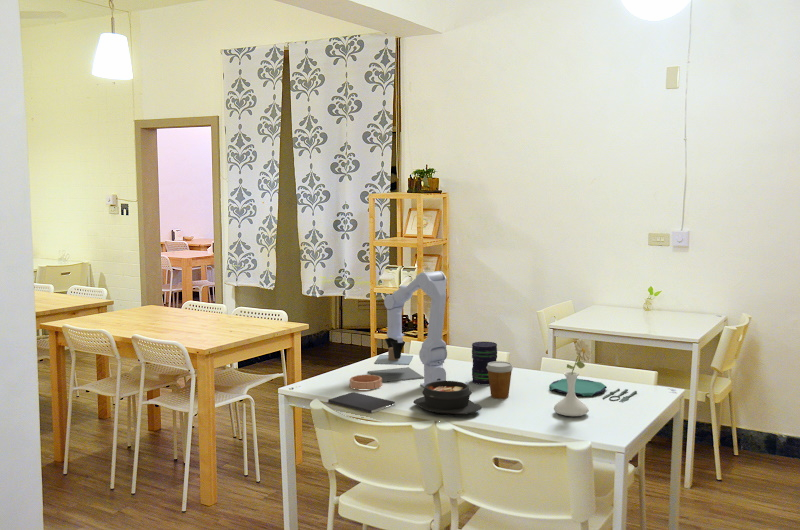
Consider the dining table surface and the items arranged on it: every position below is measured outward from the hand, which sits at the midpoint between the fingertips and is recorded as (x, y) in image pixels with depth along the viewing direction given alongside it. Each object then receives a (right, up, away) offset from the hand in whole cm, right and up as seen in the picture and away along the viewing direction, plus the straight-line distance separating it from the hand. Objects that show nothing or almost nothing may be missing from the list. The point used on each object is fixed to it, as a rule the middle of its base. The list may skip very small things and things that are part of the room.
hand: (395, 357), depth 302 cm
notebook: (-11, -12, -39) cm, 42 cm away
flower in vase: (+60, -12, -55) cm, 82 cm away
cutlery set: (+72, -10, -28) cm, 78 cm away
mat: (0, -8, +1) cm, 8 cm away
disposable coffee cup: (+38, -11, -33) cm, 51 cm away
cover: (0, -1, 0) cm, 1 cm away
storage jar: (+35, -8, -11) cm, 38 cm away
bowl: (-11, -9, -16) cm, 21 cm away
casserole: (+18, -12, -48) cm, 53 cm away
